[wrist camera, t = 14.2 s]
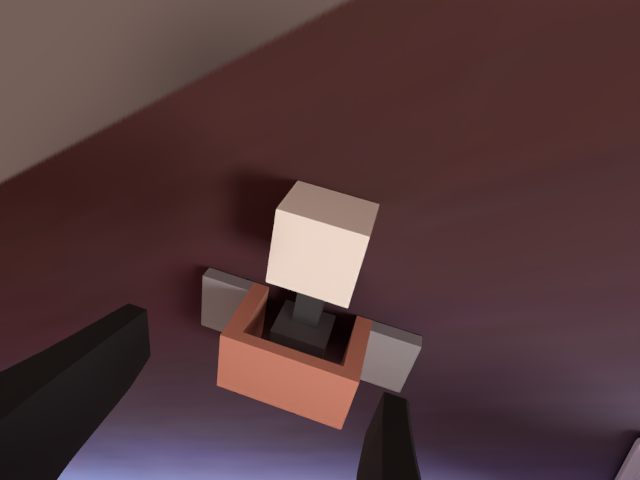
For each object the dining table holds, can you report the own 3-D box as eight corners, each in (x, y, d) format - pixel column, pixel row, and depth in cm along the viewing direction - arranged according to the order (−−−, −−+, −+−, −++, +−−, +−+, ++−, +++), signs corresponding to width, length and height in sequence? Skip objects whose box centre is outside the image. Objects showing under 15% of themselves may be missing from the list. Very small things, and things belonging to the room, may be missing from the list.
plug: (335, 347, 24) (323, 388, 22) (272, 326, 25) (253, 364, 22) (379, 204, 19) (369, 236, 16) (297, 180, 19) (276, 208, 17)
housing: (400, 381, 24) (393, 448, 21) (207, 316, 26) (169, 368, 22) (422, 336, 22) (418, 402, 19) (209, 267, 24) (167, 317, 20)
